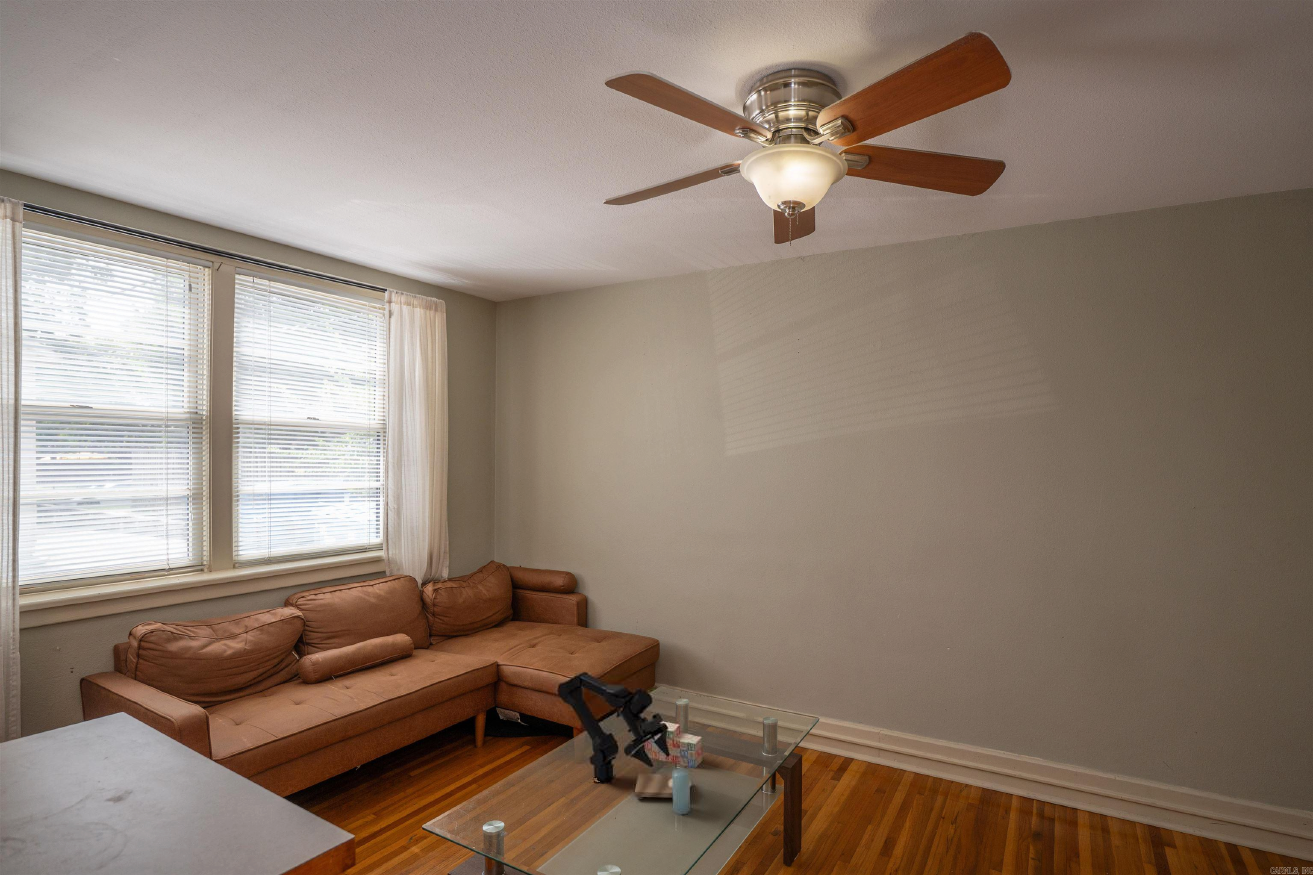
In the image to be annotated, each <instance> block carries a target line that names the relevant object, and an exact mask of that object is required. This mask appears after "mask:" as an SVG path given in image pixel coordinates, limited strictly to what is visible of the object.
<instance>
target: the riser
mask: <svg viewBox="0 0 1313 875" xmlns="http://www.w3.org/2000/svg"><path fill="white" fill-rule="evenodd" d="M691 786H692V781H691V780H690V787H691ZM635 797H636V799H637V800H639V801H640V800H643V799H644V798H645V797H646V798H672V799H673V777H672V774H659V773H658V774H653V773H649V774H647V773H639V774H638V776H637V780H636V785H635V790H634V798H635Z"/></svg>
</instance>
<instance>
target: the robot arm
mask: <svg viewBox="0 0 1313 875" xmlns="http://www.w3.org/2000/svg"><path fill="white" fill-rule="evenodd" d="M583 688H584V689H586V690H588V691H590V692H591V693H594V694H596V695H598V696H600V697H602V698H603V700H604V701H605V703H606V704H607V705H609V706H610V707H611V708H612V709H613V708H614V709H617V710H616V715H615V716H616V719H618V718H622V719H623V721H624V723H625V724H626V726H627V728H628V729H627V733H629V734H630V733H631V734H632V735H633V736H634V739H632V740H631V741H629V742H628V743H627V745H626V746H624V748H623V753H624V754H625V756H626V757H630V758H634V759H636V760H638V761H639V762H642V763H643V764H644V765H646V766H648V767H649V768H653V767H654V763H653V761H652V759H651V757H649V756H648V755H647V753H646V752H645V742H647V741H649V740H650V739H653V740H655V741H654V743H655V744H656V745H657V746H658V747H659V749H660V750H661V751H662V752H663V753H664V754H665V755H666V756H667V757H669V756H670V753H669V749H668V746H667V742H666V733H667V731H666V730H668V729H669V728H668V726H667V725H666V724H665V723H661V722H664V721H663V717H662V716H661V715H660V714H659V712H657V713H654V714H653V715H652V716H651V717H652V718H651V719H650V718H649V719H648V718H647V717H645V716H644V717H643V716H642V715H641V714H643V713H644V712H645V711H646V710H647V709H648V708H650V707H651V705H652V703H653V697H652V695H651V694H650V693H649V692H648V691H646V690H643V689H642V688H641V687H639V688H638V689H636V690H635V691H632V690H630V689H628V688H627V687H626V686H623V685H620V684H619V685H618V684H609V683H607V682H605V681H603V680H601V679H599V678H597V677H595V676H593V675H590V674H589V673H588V672H587V671H582V672H580V673H577V674H576V675H575V676H573V677H572V678H570V679H567V680H564V681H563V682H560V683H559V684H558V685H557V694H558V696H559V697H560V699H561V700H562V702H564V703H565V704H567V705H569V706H570V707H571V708H572V709H573V711H574V712H575V714H576V716H577V717H578V719H579V721H580V722H581V724H582V725H583V728H584V729H585V731H586V732H587V734H588V735H589V738H590V740H591V741H592V742H591V743H592V751H593V754H592V755H591V756H590V757H589V763H590V765H591V766H593V771H594V772H593V773H594V774H593V779H594V778H597V780H598V781H600V782H603V783H604V784H605V783H606V784H611V783H612V781H613V779H614V777H615V764H614V763H613V760H616V758H617V755H618V754H619V748H620V747H619V745H618V740H616V739H615V737H614V734H613V733H612V732H609V733H606V732H605V731H604V730H603V729H602V726H601V725H600V723H599V722H598V721H597V718H596V717H595V715H594V714H593V712H592V710H591V708H590V707H589V706H588V704H587V702H586V700H585V699H584V690H583ZM619 707H620V708H619ZM603 783H602V784H603Z"/></svg>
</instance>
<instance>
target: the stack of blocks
mask: <svg viewBox="0 0 1313 875" xmlns="http://www.w3.org/2000/svg"><path fill="white" fill-rule="evenodd" d="M661 723H665V724H666V725H667V726H668V728H669V729H668V730H666V731H667V733H666V742H667V746H668V749H669V753H670V756H669V757H667V756H666V755H665V754H664V753H663V752H662V751H661V750H660V749H659V747H658V746H657V745H656V744H655V743H654V741H655V740H653V739H650V740H649V741H647V742H645V743H644V745H645V752H646V753H647V755H648V756H649V758H650V759H655V760H659V761H663V762H667V763H671V764H672V763H673V764H677V765H680V766H685V767H688V768H693V769H695V768H697V767H698V765H700V764H701V763H702V760H703V759H702V758H703V756H702V746H703V745H702V736H697V735H694V734H693V735H692V734H687V733H683V732H681V728H680V727H681V726H680V724H678V723H672V722H666V721H662V722H661Z"/></svg>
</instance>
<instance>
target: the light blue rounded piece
mask: <svg viewBox="0 0 1313 875" xmlns="http://www.w3.org/2000/svg"><path fill="white" fill-rule="evenodd" d="M671 775H672V777H673V798H672V811H673V813H674V814H675V813H676V814H675V815H678V814H680V815H679V816H682V815H681V814H685V815H687V814H686V813H688V812H689V811H691V794H690V793H691V792H690V790H691V789H690V788H691V786H690V781H691V779H690V771H689V770H688V769H686V768H676V769H673V771H672V773H671ZM689 813H690V812H689ZM689 813H688V814H689Z"/></svg>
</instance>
